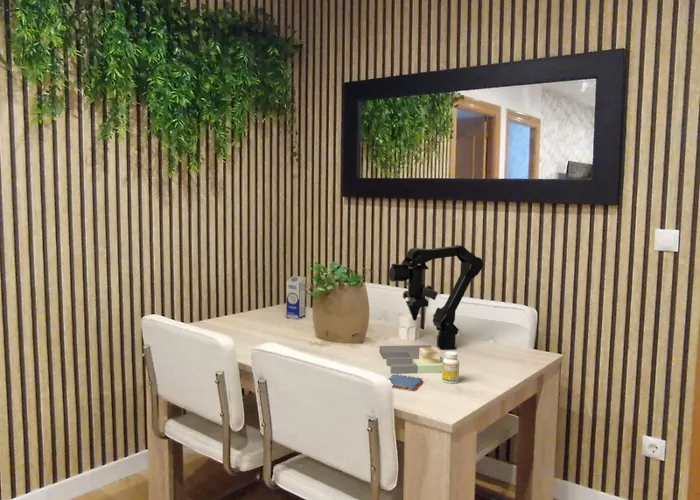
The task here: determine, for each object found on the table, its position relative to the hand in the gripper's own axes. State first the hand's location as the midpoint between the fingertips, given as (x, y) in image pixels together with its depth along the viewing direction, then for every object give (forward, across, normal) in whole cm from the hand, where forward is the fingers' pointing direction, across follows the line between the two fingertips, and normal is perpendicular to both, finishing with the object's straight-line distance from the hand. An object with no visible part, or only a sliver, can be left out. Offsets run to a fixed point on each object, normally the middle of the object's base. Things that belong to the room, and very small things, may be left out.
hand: (414, 320), depth 226 cm
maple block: (+10, -22, -1) cm, 24 cm away
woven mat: (+13, -39, +12) cm, 43 cm away
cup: (+12, +19, -2) cm, 23 cm away
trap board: (+12, -15, +4) cm, 20 cm away
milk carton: (+12, +60, +45) cm, 76 cm away
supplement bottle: (+12, -37, -4) cm, 39 cm away
